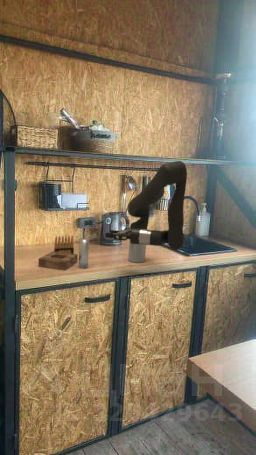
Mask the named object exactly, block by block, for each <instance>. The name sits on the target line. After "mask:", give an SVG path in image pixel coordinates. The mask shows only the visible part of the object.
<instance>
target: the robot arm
mask: <svg viewBox="0 0 256 455" xmlns="http://www.w3.org/2000/svg"><path fill="white" fill-rule="evenodd" d="M187 177H188V171H187V166H186V164H185V163H184V162H183V161H181V160H176V161H172V162H166V163H164V164H161V166H159V168H158V169H157V171H156V173H155V174H154V176H153V177H152V179H151V180H150V181H149V182H148V183H147V184H146V185H145V186H144V187H143V189H142V190H141V191H140V192H139V193H138V194H137V195H136V196H134V197H133V198H132V199H131V200H130V201H129V203H128V204H127V205H128V206H127V213H128V214H129V215H130V216H131V217H133V218H134V217H135V218H138V217H139V219H137V220H136V221H132V222H131V223H130V225H129V230H127V229H126V230H125V229H118V230H115V229H111V230H110V231H109V232H105V238H108V239H112V240H114V241H116V240H117V241H125V242H126V241H127V240H128V254H127V256H128V257H127V259H128V261H129V262H131V263H144V262H145V261H146V253H147V246H155V247H160V246H163V245H164V244H168V246H169V248H170V249H171V250H174V251H179V250H181V249H182V248H183V246H184V245H185V239H186V237H185V236H186V235H185V234H184V230H183V229H184V226H185V225H184V222H185V221H184V204H185V203H184V202H185V195H186V187H187V180H188V178H187ZM170 185H175V189H174V192H173V195H172V198H171V200H170V203H169V205H168V208H167V224H168V229H167V230H166V229H165V230H155V229H148V228H149V227H148V226H149V220H150V212H151V206H152V205H154V204H156V203H158V202H159V200H161V199H162V197H163V196H164V194H165V187H168V186H170Z"/></svg>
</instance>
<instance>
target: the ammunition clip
mask: <svg viewBox="0 0 256 455" xmlns="http://www.w3.org/2000/svg"><path fill="white" fill-rule="evenodd" d="M74 244H75V243H74V235H73V234H71V235H70V234H69V235H68V236H67V235H65V236H64V235H62V236H61V235H59V236H57V235H55V239H54V244H53V245H54V248H53V251H54V252H62V253H71V254H75V248H74V246H75V245H74Z"/></svg>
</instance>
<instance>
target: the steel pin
mask: <svg viewBox="0 0 256 455" xmlns="http://www.w3.org/2000/svg"><path fill="white" fill-rule="evenodd" d="M78 250H79V251H78V269H82V270H83V269H89V255H90V254H89V250H90V239H89V238H79V248H78Z"/></svg>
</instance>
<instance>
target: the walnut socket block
mask: <svg viewBox="0 0 256 455" xmlns="http://www.w3.org/2000/svg"><path fill="white" fill-rule="evenodd" d="M78 262H79V253H74V254H71V253H62V252H54V250H52V251H51V252H48V253H45V255H43V256H41V257H39V258H38V267H39V268H45V269H52V270H53V269H54V270H62V271H67V270H68V269H69V268H71V267H72V266H74V265H75V264H77V263H78Z"/></svg>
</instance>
